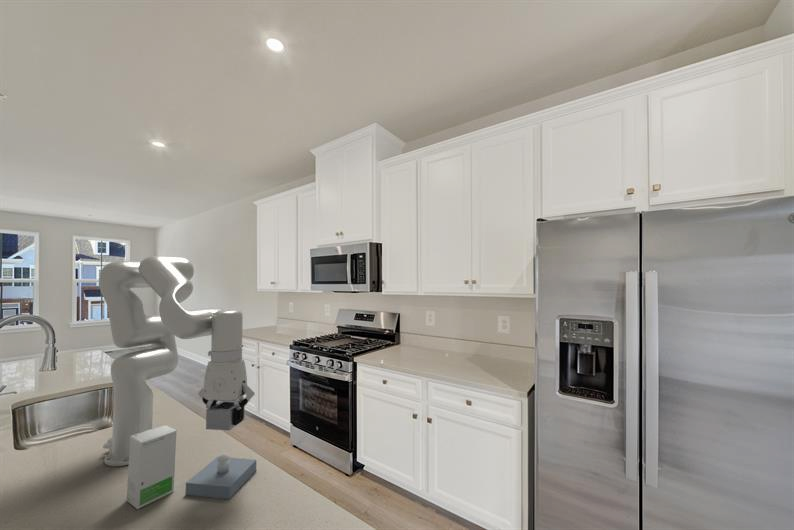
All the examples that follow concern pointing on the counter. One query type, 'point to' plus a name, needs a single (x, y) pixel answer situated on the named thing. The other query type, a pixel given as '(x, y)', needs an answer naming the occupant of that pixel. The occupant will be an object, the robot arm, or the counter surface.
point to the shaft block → (221, 477)
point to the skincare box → (151, 465)
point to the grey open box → (221, 416)
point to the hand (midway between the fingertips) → (225, 421)
